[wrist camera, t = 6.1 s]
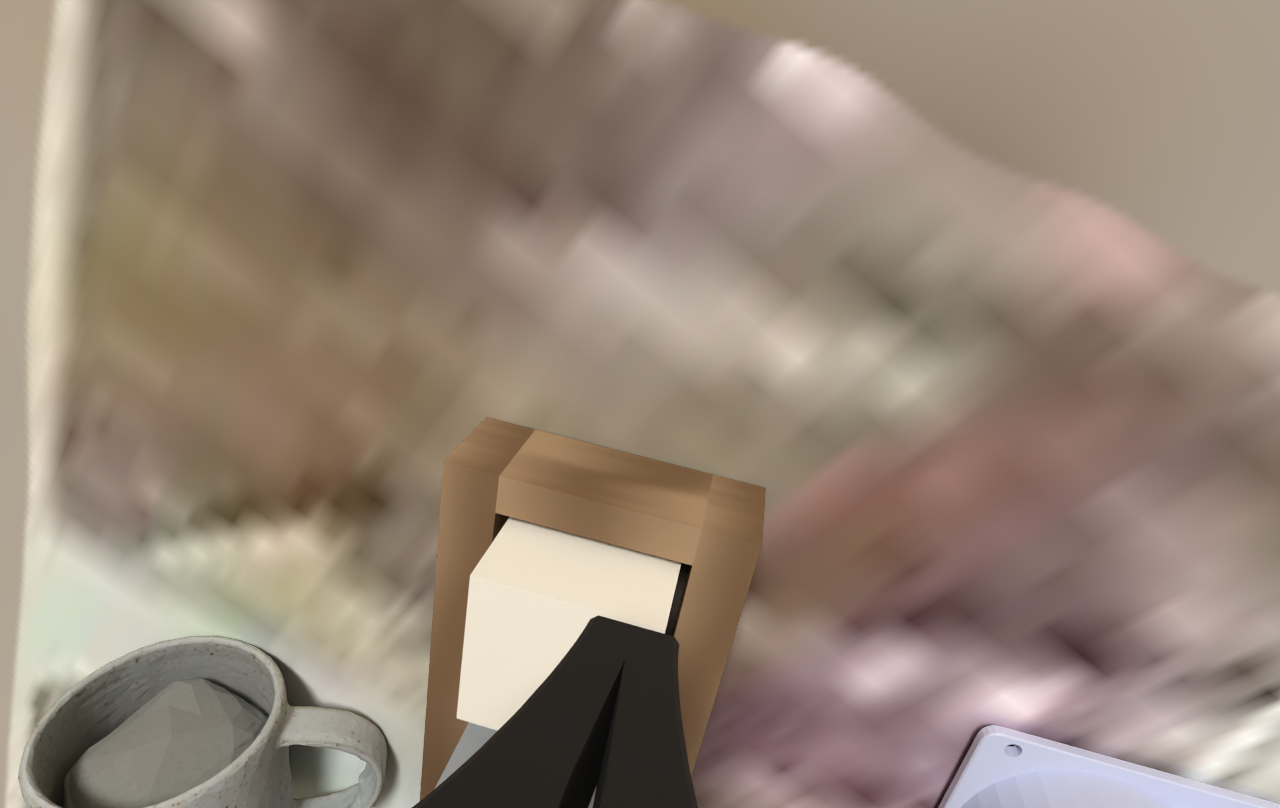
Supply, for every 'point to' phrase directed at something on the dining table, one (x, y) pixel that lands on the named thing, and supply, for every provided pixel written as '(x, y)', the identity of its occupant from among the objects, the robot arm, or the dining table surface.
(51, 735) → the ceramic mug
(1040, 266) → the dining table surface
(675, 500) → the keypad frame
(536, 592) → the key ivory
